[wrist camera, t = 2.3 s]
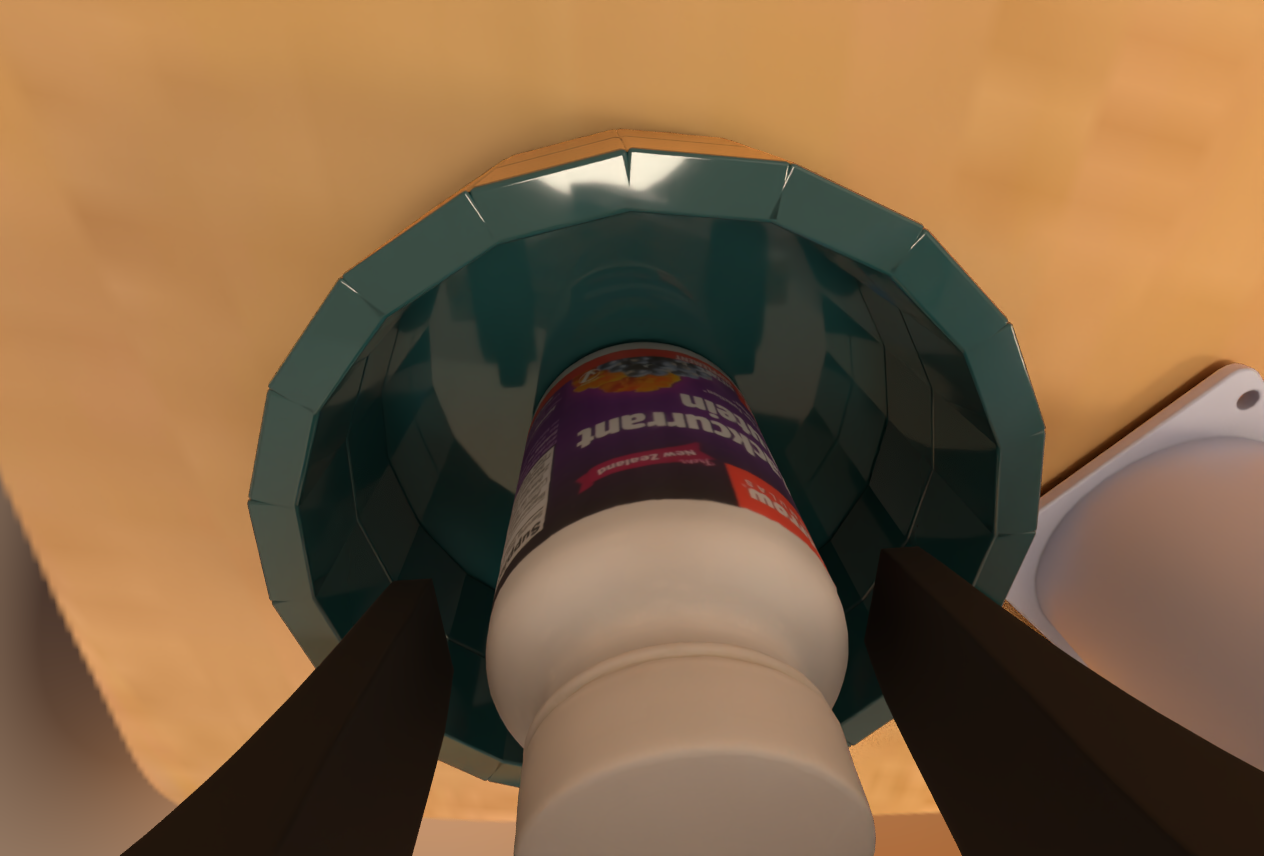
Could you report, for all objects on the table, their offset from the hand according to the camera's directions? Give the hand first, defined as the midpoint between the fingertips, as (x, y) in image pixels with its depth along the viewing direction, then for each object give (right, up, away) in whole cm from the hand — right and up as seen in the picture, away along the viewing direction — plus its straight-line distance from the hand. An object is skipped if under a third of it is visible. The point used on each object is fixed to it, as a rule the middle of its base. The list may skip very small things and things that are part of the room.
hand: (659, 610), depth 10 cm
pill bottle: (0, +3, +5) cm, 6 cm away
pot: (0, +3, +5) cm, 6 cm away
